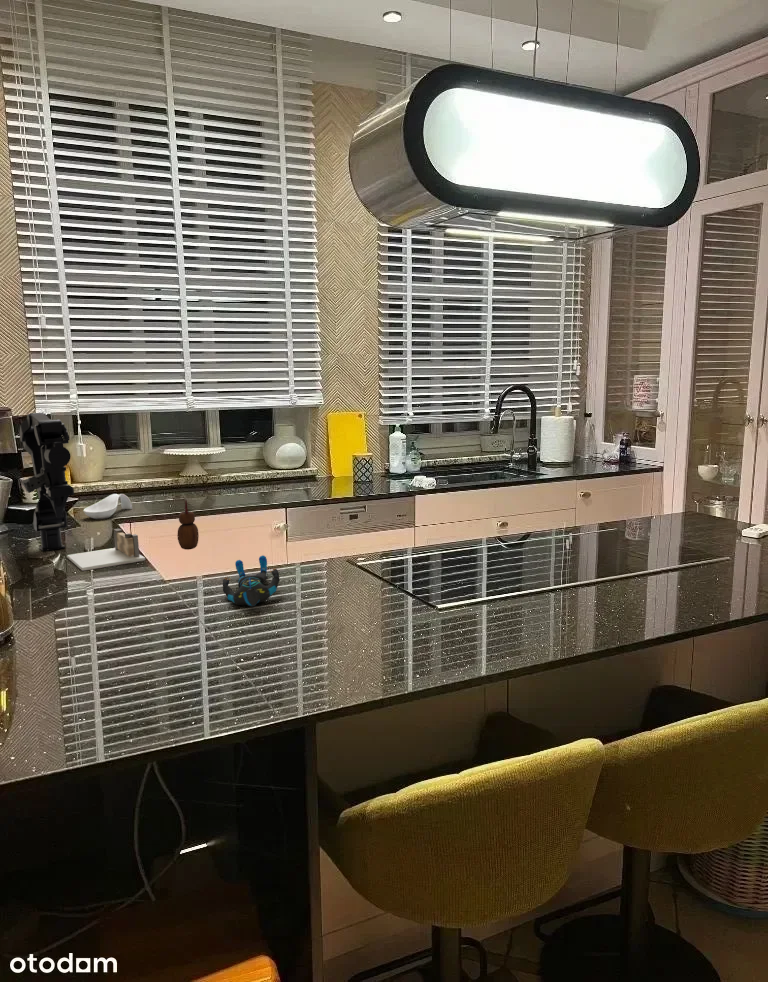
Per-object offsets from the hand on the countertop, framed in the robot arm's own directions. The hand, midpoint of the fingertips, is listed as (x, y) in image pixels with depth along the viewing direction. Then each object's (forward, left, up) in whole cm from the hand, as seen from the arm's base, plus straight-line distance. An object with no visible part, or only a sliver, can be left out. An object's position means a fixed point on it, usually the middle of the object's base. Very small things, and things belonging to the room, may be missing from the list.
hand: (58, 517), depth 218 cm
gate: (+10, +15, -11) cm, 21 cm away
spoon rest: (-63, +29, -12) cm, 71 cm away
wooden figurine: (+14, +33, -12) cm, 38 cm away
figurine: (+70, +28, -12) cm, 77 cm away
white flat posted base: (+10, +9, -12) cm, 19 cm away
